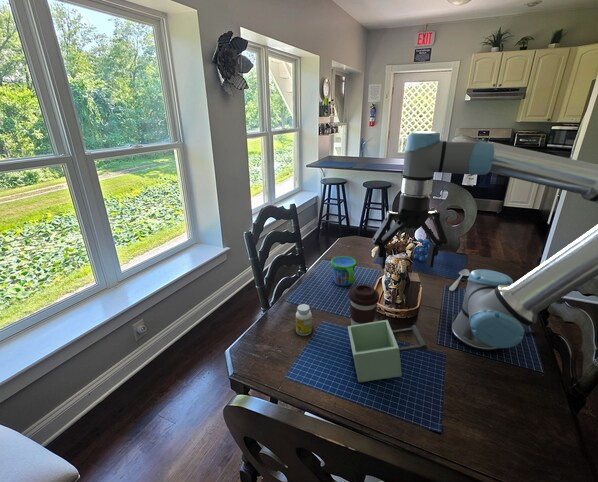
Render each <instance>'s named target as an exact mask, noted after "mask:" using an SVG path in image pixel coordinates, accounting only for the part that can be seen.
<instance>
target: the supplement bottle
mask: <svg viewBox="0 0 598 482" xmlns="http://www.w3.org/2000/svg"><path fill="white" fill-rule="evenodd" d="M296 309H297V311H296V313H295V331H296V333H297V335H300V336H303V337H305V336H309V335H310V334H311V333H312V332H313V315H312V312H311V310H310V309H311V308H310V305H309V304H307V303H302V304H299V305H298V306H297V307H296Z"/></svg>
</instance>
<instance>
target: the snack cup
mask: <svg viewBox="0 0 598 482" xmlns="http://www.w3.org/2000/svg"><path fill="white" fill-rule="evenodd" d="M330 265H331V269H332V276H333V282H334V283H335V284H336V285H337V286H341V287H347V286H349V285H351V284H354V282H355V275H354V273H355V268H356V266H357V260H356V259H355V258H353V257H351V256H347V255H339V256H334V257H332V259H331V260H330Z"/></svg>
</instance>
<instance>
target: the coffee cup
mask: <svg viewBox="0 0 598 482" xmlns="http://www.w3.org/2000/svg"><path fill="white" fill-rule="evenodd" d="M348 299H349V313H350V314H349V317H350V326H352V325H358V324H364V323H370V322H375V319H376V312H377V309H378V308H377V307H378V303H379V301H380V293H379V291H378V290H376V289H375V288H374V287H373V286H371V285H368V284H357V285H355V286H354V287H352V288H350V289H349V290H348Z"/></svg>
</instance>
